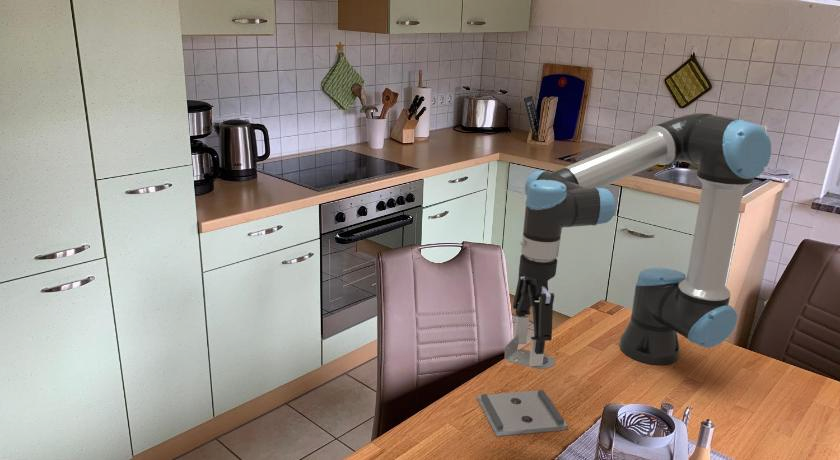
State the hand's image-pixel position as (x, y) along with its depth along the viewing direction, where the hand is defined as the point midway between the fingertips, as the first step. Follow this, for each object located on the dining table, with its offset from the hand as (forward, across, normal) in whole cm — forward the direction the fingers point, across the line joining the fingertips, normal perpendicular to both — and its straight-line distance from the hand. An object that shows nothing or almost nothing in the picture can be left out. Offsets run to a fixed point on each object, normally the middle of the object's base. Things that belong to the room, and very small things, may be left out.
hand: (527, 353), depth 140 cm
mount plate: (+15, 0, 0) cm, 15 cm away
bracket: (+1, +1, 0) cm, 1 cm away
